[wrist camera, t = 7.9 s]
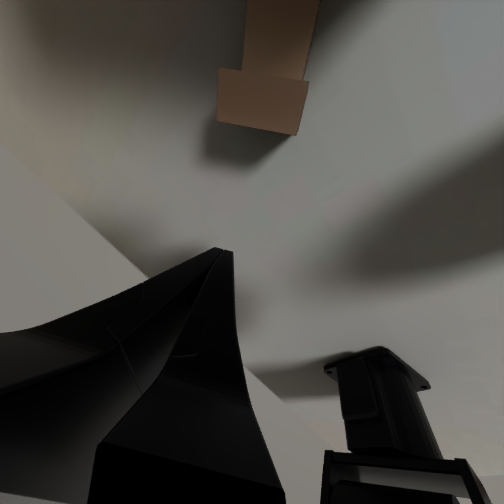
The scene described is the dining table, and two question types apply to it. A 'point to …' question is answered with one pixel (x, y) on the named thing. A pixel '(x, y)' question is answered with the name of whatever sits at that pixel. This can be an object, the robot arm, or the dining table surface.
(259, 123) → the wooden box with handle
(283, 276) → the dining table surface
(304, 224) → the dining table surface
